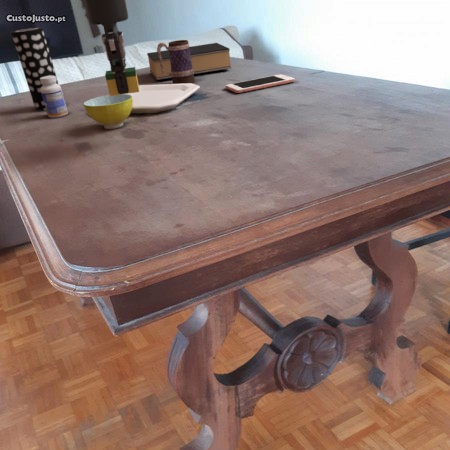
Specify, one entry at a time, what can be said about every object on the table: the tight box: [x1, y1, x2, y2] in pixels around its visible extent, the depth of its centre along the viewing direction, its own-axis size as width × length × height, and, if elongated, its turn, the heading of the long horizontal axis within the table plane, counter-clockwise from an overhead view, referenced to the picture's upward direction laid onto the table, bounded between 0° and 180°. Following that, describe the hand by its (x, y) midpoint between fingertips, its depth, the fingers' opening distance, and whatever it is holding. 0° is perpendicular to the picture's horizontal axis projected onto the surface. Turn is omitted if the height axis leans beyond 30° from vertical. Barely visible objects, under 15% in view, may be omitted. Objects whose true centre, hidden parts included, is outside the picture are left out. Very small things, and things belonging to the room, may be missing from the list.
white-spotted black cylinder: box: [10, 26, 60, 112], centre depth 134 cm, size 8×8×20 cm
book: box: [146, 42, 232, 82], centre depth 160 cm, size 17×25×7 cm
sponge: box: [104, 66, 140, 96], centre depth 97 cm, size 6×4×4 cm
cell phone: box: [225, 73, 296, 94], centre depth 134 cm, size 9×18×1 cm, turn 112°
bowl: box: [83, 94, 133, 130], centre depth 113 cm, size 11×12×6 cm
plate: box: [128, 83, 201, 114], centre depth 130 cm, size 25×25×2 cm
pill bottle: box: [40, 76, 69, 119], centre depth 127 cm, size 5×5×10 cm
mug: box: [156, 39, 196, 84], centre depth 144 cm, size 10×7×12 cm
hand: (124, 90), depth 98 cm, fingers closed on sponge, 4 cm apart
